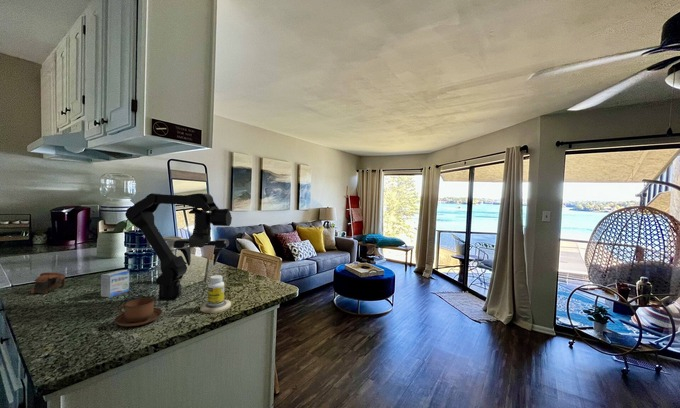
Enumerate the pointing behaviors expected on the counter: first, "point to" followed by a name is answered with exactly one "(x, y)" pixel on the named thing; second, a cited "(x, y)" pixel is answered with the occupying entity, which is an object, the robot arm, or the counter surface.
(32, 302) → the counter surface
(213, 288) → the supplement bottle
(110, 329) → the counter surface
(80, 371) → the counter surface
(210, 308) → the round plate
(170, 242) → the candle holder
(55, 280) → the reddish brown angular block
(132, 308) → the cup and saucer
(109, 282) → the medicine box
